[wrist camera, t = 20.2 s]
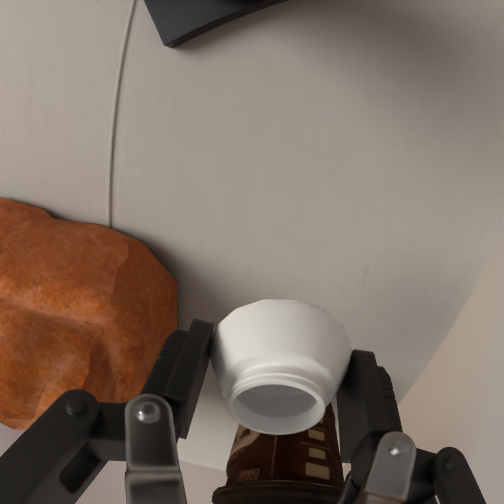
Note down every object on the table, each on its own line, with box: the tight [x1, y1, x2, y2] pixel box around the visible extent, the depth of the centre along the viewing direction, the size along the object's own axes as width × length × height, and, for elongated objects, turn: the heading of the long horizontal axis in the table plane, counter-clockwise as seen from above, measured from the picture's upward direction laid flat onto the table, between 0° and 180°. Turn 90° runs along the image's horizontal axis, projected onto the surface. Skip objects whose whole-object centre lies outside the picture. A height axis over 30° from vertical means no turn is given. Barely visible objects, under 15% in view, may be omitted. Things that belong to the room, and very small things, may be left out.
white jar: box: [209, 299, 352, 435], centre depth 10 cm, size 5×3×5 cm
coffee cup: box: [212, 402, 344, 504], centre depth 19 cm, size 9×8×13 cm
